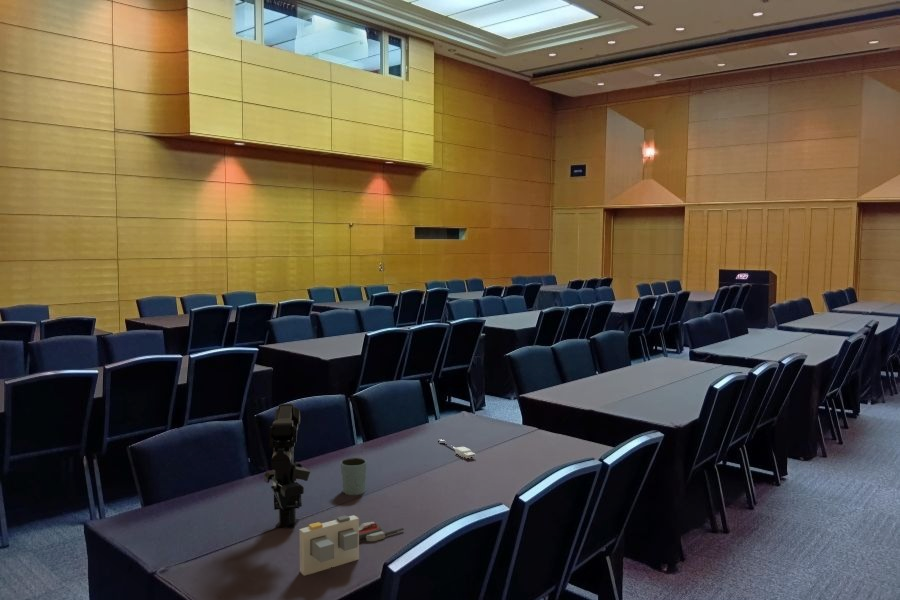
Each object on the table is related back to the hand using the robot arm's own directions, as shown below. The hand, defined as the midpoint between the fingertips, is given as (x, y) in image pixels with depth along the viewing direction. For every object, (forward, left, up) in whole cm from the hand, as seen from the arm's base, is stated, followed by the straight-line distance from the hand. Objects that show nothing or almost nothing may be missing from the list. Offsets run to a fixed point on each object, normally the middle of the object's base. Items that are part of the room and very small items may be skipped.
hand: (283, 509), depth 214 cm
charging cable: (-105, +48, -13) cm, 116 cm away
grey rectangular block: (+17, +17, -6) cm, 25 cm away
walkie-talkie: (-10, +27, -13) cm, 31 cm away
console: (+12, +18, -12) cm, 25 cm away
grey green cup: (-49, +12, -12) cm, 52 cm away
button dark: (+9, +22, -6) cm, 25 cm away
